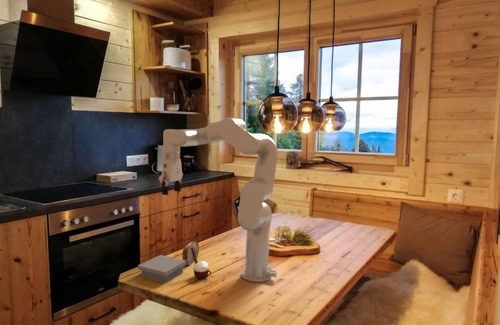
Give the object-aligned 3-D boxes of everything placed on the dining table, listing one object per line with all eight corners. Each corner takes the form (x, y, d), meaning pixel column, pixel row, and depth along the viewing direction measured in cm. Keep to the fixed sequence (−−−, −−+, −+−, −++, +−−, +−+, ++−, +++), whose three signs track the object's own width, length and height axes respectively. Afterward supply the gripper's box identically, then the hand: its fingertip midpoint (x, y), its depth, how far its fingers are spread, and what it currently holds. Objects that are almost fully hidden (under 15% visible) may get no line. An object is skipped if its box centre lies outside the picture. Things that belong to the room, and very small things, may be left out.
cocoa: (213, 279, 150) (215, 251, 148) (200, 283, 145) (203, 254, 144) (199, 271, 156) (201, 244, 155) (187, 274, 152) (189, 247, 150)
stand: (186, 272, 155) (186, 260, 154) (165, 284, 142) (165, 272, 142) (160, 265, 161) (160, 254, 160) (137, 277, 148) (137, 265, 148)
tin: (187, 268, 159) (187, 249, 158) (180, 267, 160) (181, 248, 159) (199, 256, 174) (199, 239, 173) (193, 255, 175) (193, 238, 174)
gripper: (167, 158, 157) (166, 197, 159) (188, 155, 173) (188, 190, 175) (152, 157, 160) (152, 195, 162) (175, 154, 176) (175, 189, 178)
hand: (171, 193), depth 168 cm, fingers open, 9 cm apart
